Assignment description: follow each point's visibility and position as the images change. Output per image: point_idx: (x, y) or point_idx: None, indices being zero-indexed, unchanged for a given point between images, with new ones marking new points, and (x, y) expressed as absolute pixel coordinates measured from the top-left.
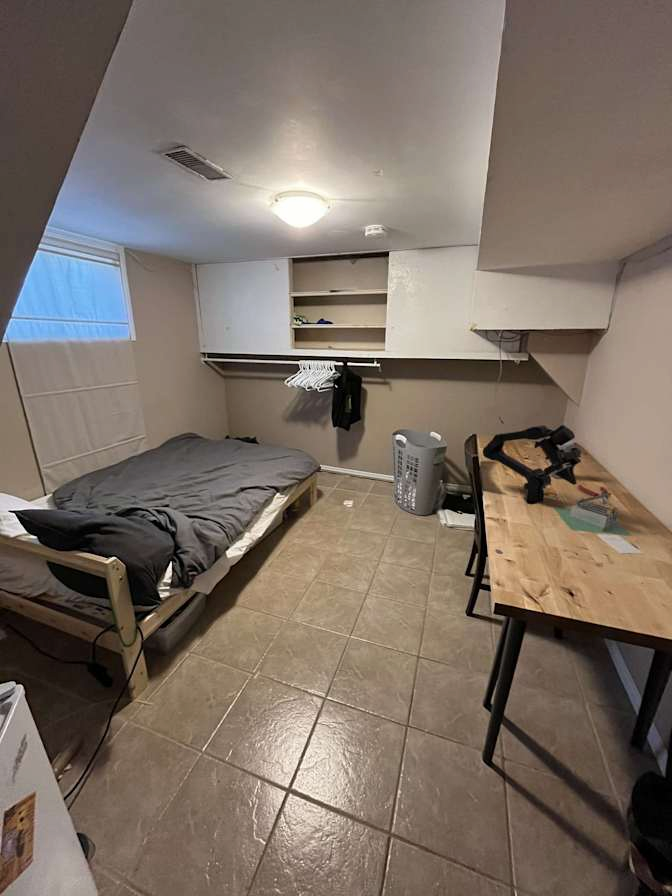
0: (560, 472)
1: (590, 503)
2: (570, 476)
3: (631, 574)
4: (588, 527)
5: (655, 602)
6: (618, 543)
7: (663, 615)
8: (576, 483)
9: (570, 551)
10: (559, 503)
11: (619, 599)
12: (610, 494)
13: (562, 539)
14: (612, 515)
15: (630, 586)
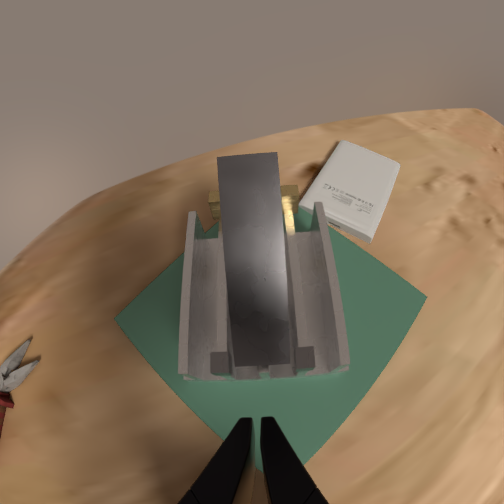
0: None
1: (190, 337)
2: (317, 491)
3: (431, 141)
4: (346, 279)
5: (450, 114)
6: (357, 181)
7: (458, 109)
8: (247, 417)
9: (493, 233)
10: (169, 496)
11: (490, 139)
12: (234, 158)
13: (478, 280)
14: None
15: (458, 136)
